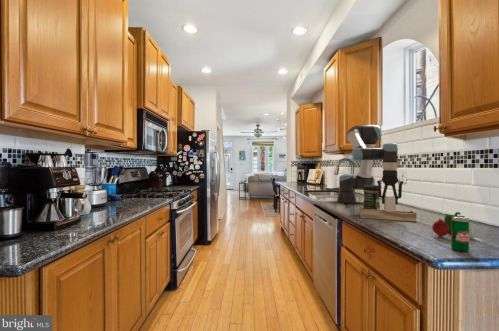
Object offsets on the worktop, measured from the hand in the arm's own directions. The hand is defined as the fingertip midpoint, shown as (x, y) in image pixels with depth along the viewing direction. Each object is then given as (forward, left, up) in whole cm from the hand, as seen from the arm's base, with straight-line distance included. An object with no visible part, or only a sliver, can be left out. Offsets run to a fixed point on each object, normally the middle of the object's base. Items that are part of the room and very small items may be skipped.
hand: (389, 209), depth 145 cm
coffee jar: (-12, -8, -5) cm, 15 cm away
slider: (0, 0, -2) cm, 2 cm away
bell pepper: (+25, +23, -5) cm, 34 cm away
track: (0, -1, -5) cm, 5 cm away
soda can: (+53, +14, -5) cm, 55 cm away
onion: (+35, +14, -5) cm, 38 cm away
